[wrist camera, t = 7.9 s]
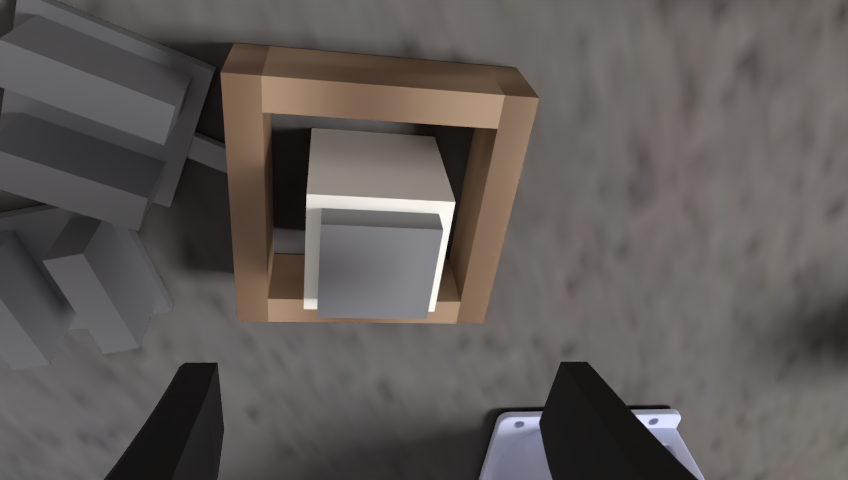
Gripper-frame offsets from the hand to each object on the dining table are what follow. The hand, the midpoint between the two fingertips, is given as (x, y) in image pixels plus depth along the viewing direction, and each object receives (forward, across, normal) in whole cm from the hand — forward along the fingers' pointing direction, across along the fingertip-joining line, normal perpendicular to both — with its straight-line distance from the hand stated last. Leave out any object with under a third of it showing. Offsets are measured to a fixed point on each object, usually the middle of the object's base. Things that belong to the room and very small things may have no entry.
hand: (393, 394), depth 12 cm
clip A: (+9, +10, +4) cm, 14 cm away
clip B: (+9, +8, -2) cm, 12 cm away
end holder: (+9, 0, 0) cm, 9 cm away
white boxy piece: (+9, 0, 0) cm, 9 cm away
